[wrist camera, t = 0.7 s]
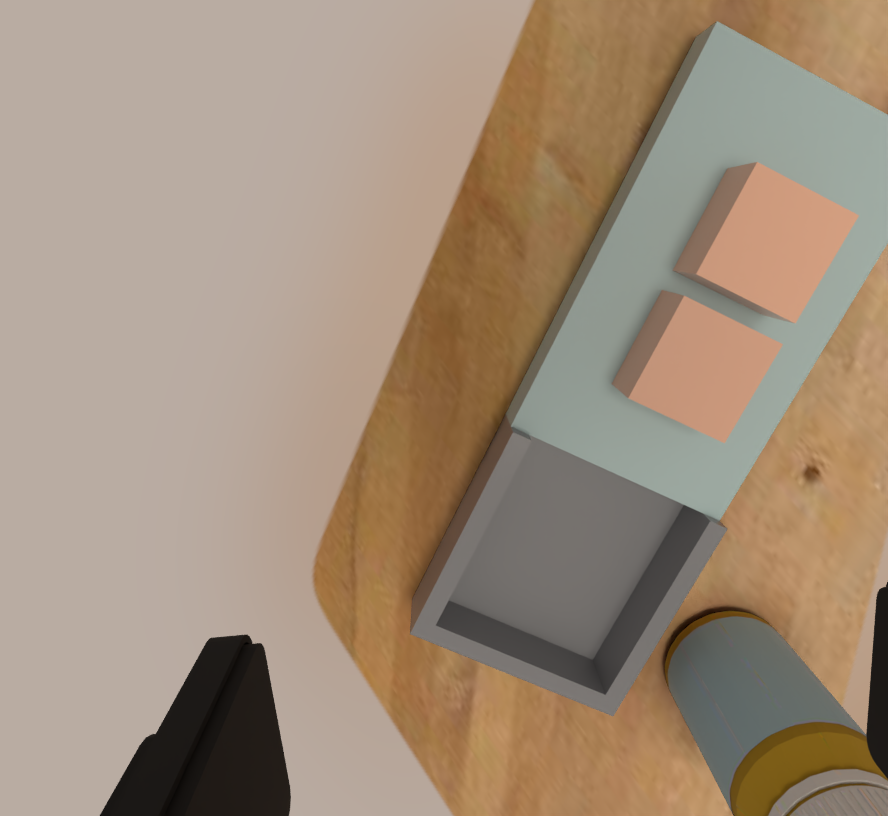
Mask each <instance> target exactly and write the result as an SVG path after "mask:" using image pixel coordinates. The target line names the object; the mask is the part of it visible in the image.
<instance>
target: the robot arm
mask: <svg viewBox="0 0 888 816" xmlns="http://www.w3.org/2000/svg"><path fill="white" fill-rule="evenodd" d="M867 745H868V749H869V752H870V754H871V757H872V759H873V761H874V762H875V764H876V765H877V766H878V768H879V769H880V770H881V771H882V773H883V774H884V775H885V776H886V777H887V779H888V582H887V585H886V587H883V588H881V589H880V590H879V592H878V594H877V599H876V613H875V626H874V641H873V653H872V667H871V681H870V694H869V708H868V722H867ZM290 799H291V796H290V785H289V779H288V774H287V769H286V763H285V758H284V752H283V747H282V741H281V736H280V730H279V725H278V720H277V714H276V709H275V703H274V698H273V693H272V687H271V682H270V676H269V671H268V665H267V660H266V655H265V650H264V647H263V645H262V644H261V643H257V644H252V640H251V638H250V637H249V636H248V635H237V636H227V637H216V638H210V639H209V640H208V641H207V642H206V644H205V646H204V648H203V650H202V651H201V653H200V655H199V657H198V659H197V660H196V662H195V664H194V666H193V668H192V670H191V671H190V673H189V675H188V677H187V679H186V680H185V682H184V684H183V686H182V688H181V689H180V691H179V693H178V695H177V697H176V698H175V700H174V702H173V704H172V706H171V707H170V710H169V711H168V713H167V715H166V717H165V718H164V720H163V722H162V724H161V726H160V727H159V729H158V731H157V733H156V734H152V735H150V736H148V737H146V738H145V740H144V741H143V742H142V743H141V745H140V746H139V748H138V750H137V751H136V753H135V755H134V757H133V758H132V760H131V762H130V764H129V765H128V767H127V769H126V771H125V772H124V774H123V776H122V778H121V780H120V781H119V783H118V785H117V786H116V788H115V790H114V792H113V793H112V795H111V797H110V799H109V800H108V802H107V804H106V806H105V808H104V809H103V811H102V813H101V814H100V816H289V811H290Z"/></svg>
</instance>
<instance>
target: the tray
mask: <svg viewBox="0 0 888 816" xmlns="http://www.w3.org/2000/svg"><path fill="white" fill-rule="evenodd" d="M726 531H727V528H726V527H725V526H724V525H723V524H722V523H721V522H720V521H719V520H717V519H714V518H712V517H710V516H708V515H706V514H703V513H701V512H699V511H697V510H694V509H692V508H690V507H688V506H686V505H683V504H681V503H679V502H677V501H675V500H672V499H670V498H668V497H666V496H663V495H661V494H659V493H657V492H655V491H652V490H650V489H648V488H646V487H644V486H641V485H639V484H637V483H635V482H632V481H630V480H628V479H626V478H624V477H621V476H619V475H617V474H615V473H613V472H610V471H608V470H606V469H604V468H602V467H599V466H597V465H595V464H593V463H590V462H588V461H586V460H584V459H582V458H579V457H577V456H575V455H573V454H571V453H568V452H566V451H564V450H562V449H559V448H557V447H555V446H553V445H551V444H548V443H546V442H544V441H542V440H540V439H537V438H535V437H533V436H531V435H528V434H526V433H524V432H522V431H520V430H517V429H515V428H513V427H511V426H510V423H509V421H508V418H507V415H506V414H505V416H504V418H503V420H502V422H501V424H500V426H499V428H498V430H497V432H496V434H495V436H494V438H493V440H492V442H491V444H490V446H489V448H488V450H487V452H486V454H485V456H484V458H483V460H482V462H481V464H480V466H479V468H478V470H477V472H476V474H475V476H474V478H473V480H472V482H471V484H470V486H469V487H468V489H467V491H466V493H465V495H464V497H463V499H462V501H461V503H460V505H459V507H458V509H457V511H456V513H455V515H454V517H453V519H452V521H451V523H450V525H449V527H448V529H447V531H446V533H445V535H444V537H443V539H442V541H441V543H440V545H439V547H438V549H437V551H436V553H435V555H434V557H433V559H432V561H431V563H430V565H429V567H428V569H427V571H426V573H425V575H424V577H423V579H422V581H421V583H420V585H419V587H418V589H417V590H416V592H415V594H414V596H413V598H412V609H411V625H410V634H411V635H414V636H416V637H419V638H421V639H424V640H426V641H429V642H431V643H433V644H436V645H438V646H441V647H443V648H446V649H448V650H451V651H453V652H456V653H458V654H461V655H463V656H466V657H468V658H471V659H473V660H475V661H478V662H480V663H483V664H485V665H488V666H490V667H493V668H495V669H498V670H500V671H503V672H505V673H508V674H510V675H512V676H515V677H517V678H520V679H522V680H525V681H527V682H530V683H532V684H535V685H537V686H540V687H542V688H545V689H547V690H549V691H552V692H554V693H557V694H559V695H562V696H564V697H567V698H569V699H572V700H574V701H577V702H579V703H582V704H584V705H587V706H589V707H591V708H594V709H596V710H599V711H601V712H604V713H606V714H609V715H611V716H614V714H615V712H616V711H617V709H618V707H619V706H620V704H621V703H622V701H623V699H624V698H625V696H626V694H627V693H628V691H629V689H630V688H631V686H632V685H633V683H634V681H635V680H636V678H637V676H638V675H639V673H640V671H641V670H642V668H643V666H644V665H645V663H646V662H647V660H648V658H649V657H650V655H651V653H652V652H653V650H654V648H655V647H656V645H657V644H658V642H659V640H660V639H661V637H662V635H663V634H664V632H665V630H666V629H667V627H668V626H669V624H670V622H671V621H672V619H673V617H674V616H675V614H676V612H677V611H678V609H679V608H680V606H681V604H682V603H683V601H684V599H685V598H686V596H687V594H688V593H689V591H690V589H691V588H692V586H693V585H694V583H695V581H696V580H697V578H698V576H699V575H700V573H701V571H702V570H703V568H704V567H705V565H706V563H707V562H708V560H709V558H710V557H711V555H712V553H713V552H714V550H715V549H716V547H717V545H718V544H719V542H720V540H721V539H722V537H723V535H724V534H725V532H726Z"/></svg>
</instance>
